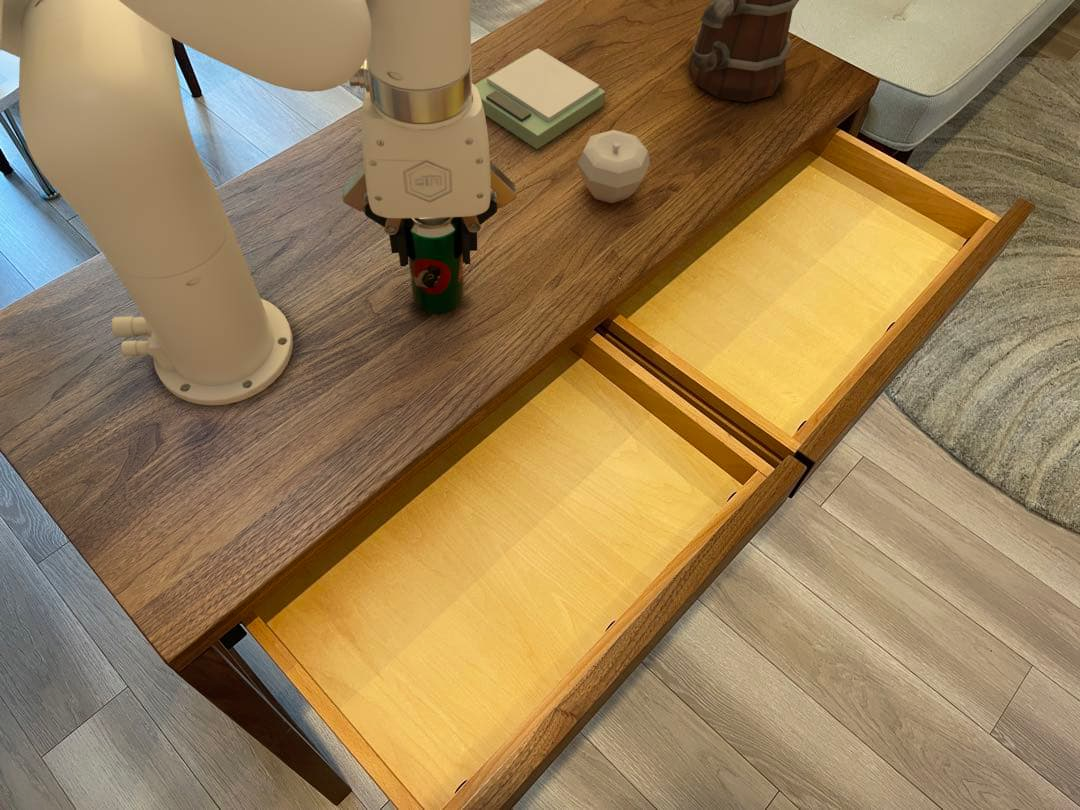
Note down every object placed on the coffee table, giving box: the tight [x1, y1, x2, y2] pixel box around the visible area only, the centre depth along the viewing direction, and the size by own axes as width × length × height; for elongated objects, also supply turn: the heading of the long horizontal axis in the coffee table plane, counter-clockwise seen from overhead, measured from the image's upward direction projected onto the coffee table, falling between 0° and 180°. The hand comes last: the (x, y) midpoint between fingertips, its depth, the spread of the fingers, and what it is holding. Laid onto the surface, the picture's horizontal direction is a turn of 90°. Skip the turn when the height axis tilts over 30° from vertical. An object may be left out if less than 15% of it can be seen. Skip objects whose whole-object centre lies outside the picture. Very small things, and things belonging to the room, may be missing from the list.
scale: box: [474, 48, 606, 150], centre depth 96 cm, size 12×12×3 cm
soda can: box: [404, 217, 465, 316], centre depth 74 cm, size 5×5×12 cm
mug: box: [688, 0, 800, 103], centre depth 94 cm, size 16×12×15 cm
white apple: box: [577, 129, 651, 204], centre depth 86 cm, size 8×8×7 cm
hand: (435, 252), depth 73 cm, fingers closed on soda can, 5 cm apart
